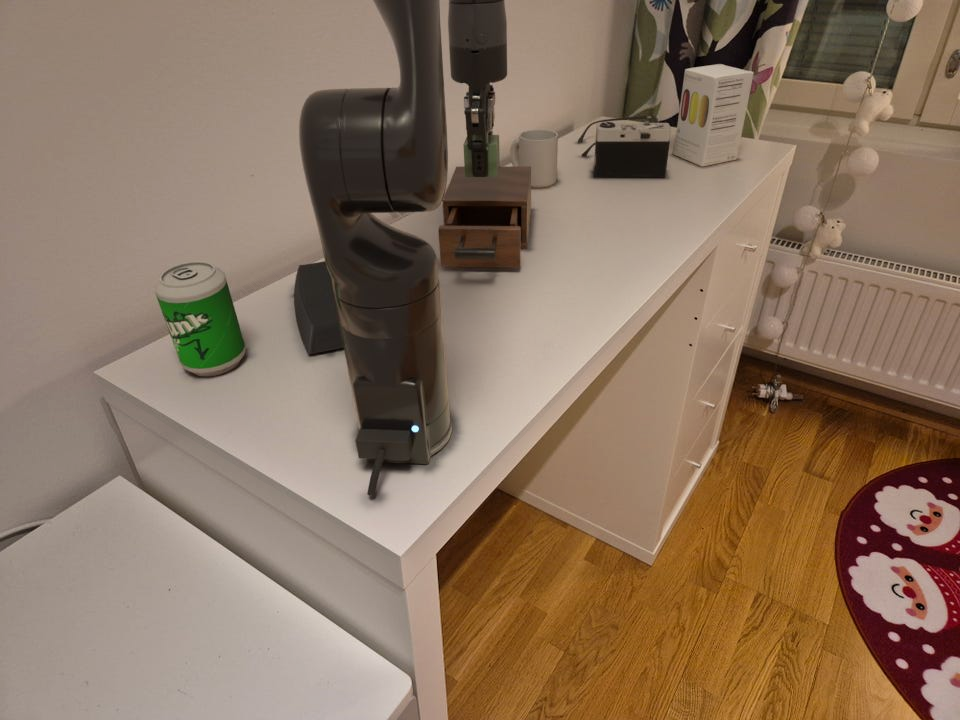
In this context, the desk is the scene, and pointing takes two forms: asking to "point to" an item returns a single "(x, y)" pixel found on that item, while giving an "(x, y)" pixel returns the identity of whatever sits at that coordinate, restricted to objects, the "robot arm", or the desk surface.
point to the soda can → (200, 318)
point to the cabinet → (492, 193)
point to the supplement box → (712, 113)
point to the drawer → (481, 237)
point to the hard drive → (316, 309)
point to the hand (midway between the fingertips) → (482, 169)
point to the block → (492, 156)
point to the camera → (631, 150)
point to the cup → (537, 155)
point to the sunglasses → (651, 117)
